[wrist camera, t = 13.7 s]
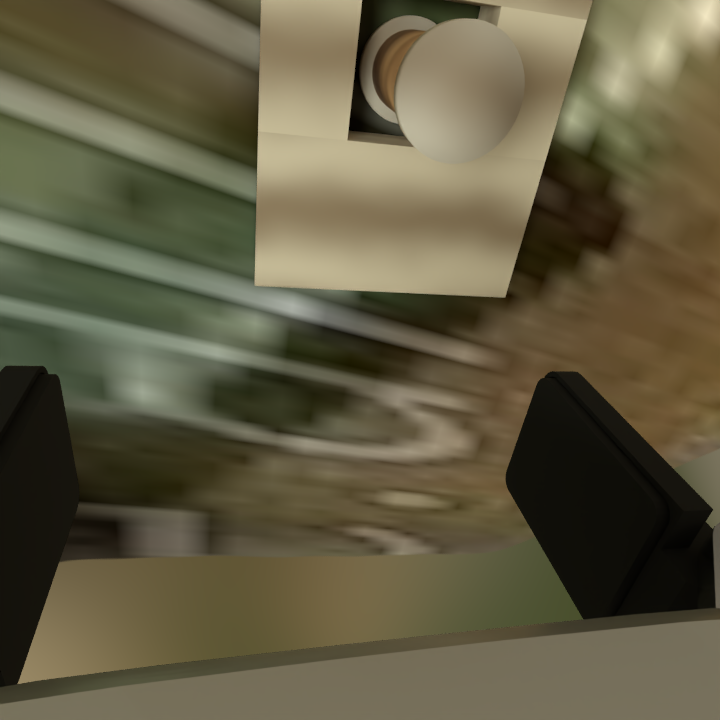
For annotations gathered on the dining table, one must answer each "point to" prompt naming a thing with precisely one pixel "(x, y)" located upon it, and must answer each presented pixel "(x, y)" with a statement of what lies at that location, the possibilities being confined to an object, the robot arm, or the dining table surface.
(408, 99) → the bobbin
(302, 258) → the socket board
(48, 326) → the dining table surface
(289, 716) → the robot arm
